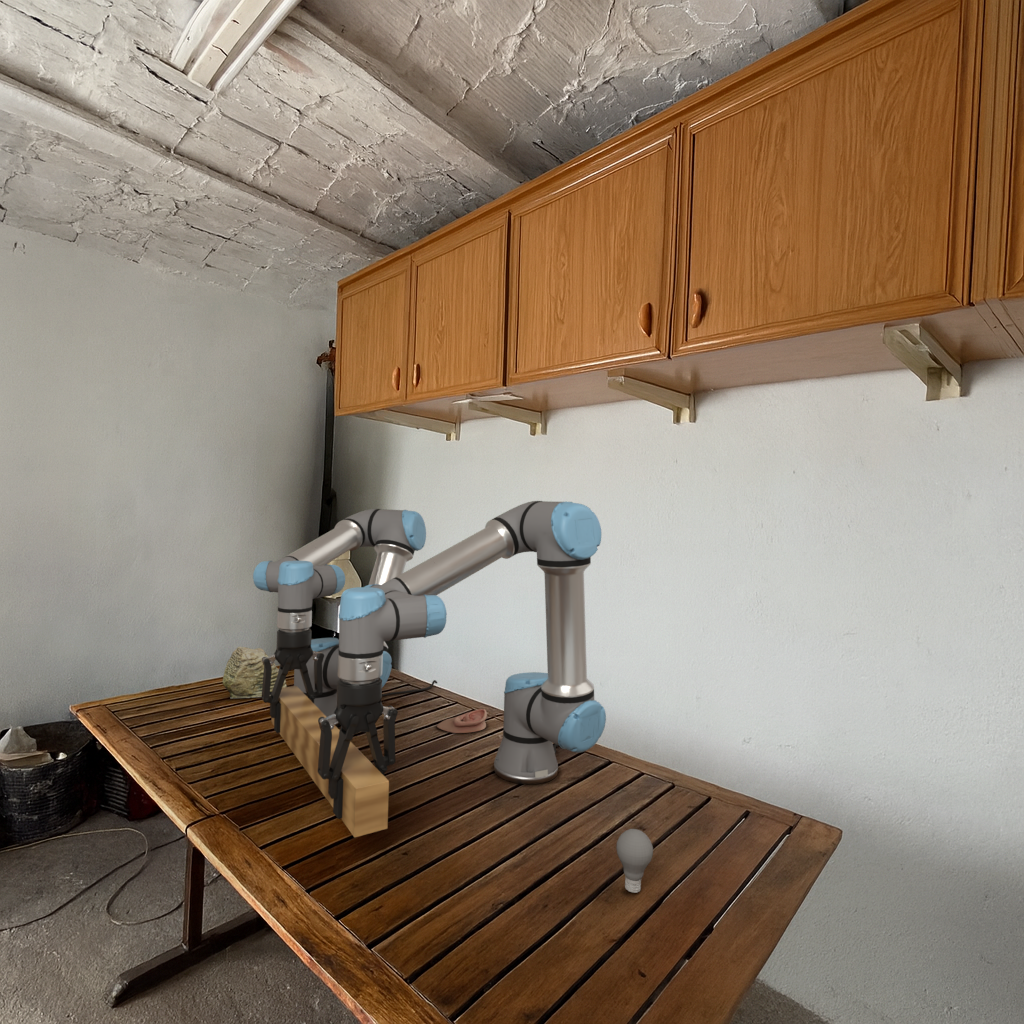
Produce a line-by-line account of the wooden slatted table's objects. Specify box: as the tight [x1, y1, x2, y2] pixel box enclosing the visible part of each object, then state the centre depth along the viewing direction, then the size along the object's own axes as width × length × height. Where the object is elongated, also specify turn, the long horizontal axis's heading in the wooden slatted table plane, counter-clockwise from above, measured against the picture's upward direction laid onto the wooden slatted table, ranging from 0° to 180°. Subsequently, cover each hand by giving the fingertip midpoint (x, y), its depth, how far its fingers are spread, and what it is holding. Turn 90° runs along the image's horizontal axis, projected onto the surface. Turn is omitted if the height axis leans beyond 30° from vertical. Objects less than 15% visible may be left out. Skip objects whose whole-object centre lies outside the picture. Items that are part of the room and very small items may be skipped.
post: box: [270, 685, 390, 838], centre depth 128 cm, size 58×6×8 cm, turn 33°
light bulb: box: [615, 828, 654, 894], centre depth 106 cm, size 6×6×10 cm
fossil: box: [222, 646, 288, 699], centre depth 198 cm, size 9×18×15 cm, turn 132°
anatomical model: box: [436, 708, 488, 734], centre depth 178 cm, size 13×4×12 cm
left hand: (291, 728), depth 146 cm, fingers closed on post, 6 cm apart
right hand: (355, 810), depth 110 cm, fingers closed on post, 6 cm apart
